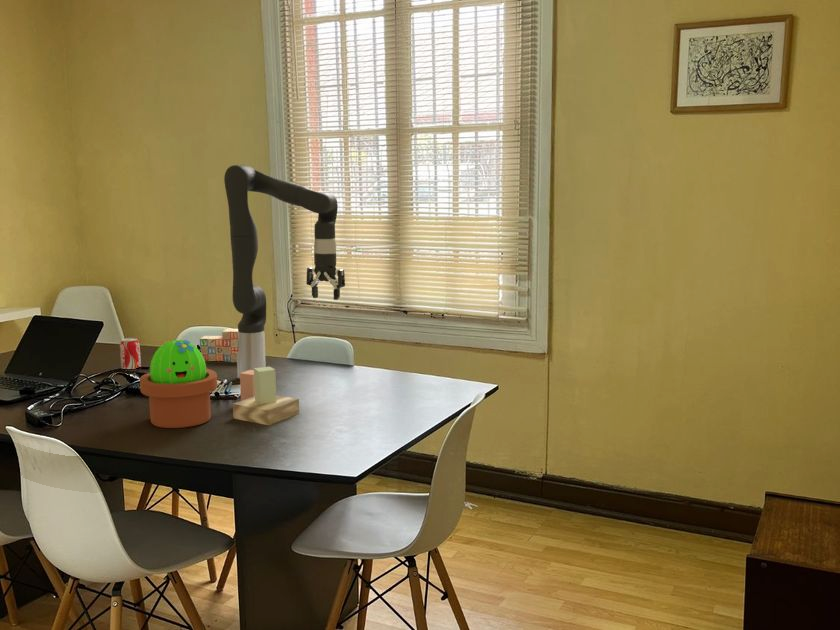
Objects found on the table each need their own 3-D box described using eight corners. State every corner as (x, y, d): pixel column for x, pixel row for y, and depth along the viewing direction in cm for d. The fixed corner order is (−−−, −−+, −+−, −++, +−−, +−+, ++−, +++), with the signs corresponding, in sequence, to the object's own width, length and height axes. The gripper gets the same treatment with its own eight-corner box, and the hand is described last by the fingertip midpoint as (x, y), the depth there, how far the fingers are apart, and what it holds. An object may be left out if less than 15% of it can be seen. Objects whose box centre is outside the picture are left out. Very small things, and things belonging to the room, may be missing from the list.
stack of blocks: (200, 361, 329) (198, 331, 326) (205, 358, 335) (204, 328, 333) (254, 362, 327) (252, 331, 325) (258, 359, 333) (257, 328, 331)
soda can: (137, 373, 310) (135, 341, 308) (118, 373, 311) (116, 341, 308) (143, 368, 317) (142, 337, 315) (125, 368, 317) (123, 337, 315)
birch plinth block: (233, 419, 253) (232, 403, 252) (264, 408, 265) (263, 393, 264) (269, 426, 246) (268, 410, 246) (299, 414, 258) (298, 399, 257)
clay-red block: (241, 403, 269) (239, 373, 268) (251, 399, 274) (249, 369, 272) (253, 405, 267) (252, 374, 265) (263, 401, 271) (262, 371, 270)
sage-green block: (255, 400, 256) (253, 368, 254) (270, 398, 258) (269, 366, 257) (260, 404, 252) (259, 371, 250) (276, 402, 254) (275, 369, 252)
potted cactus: (140, 414, 258) (135, 334, 253) (213, 406, 266) (209, 329, 261) (145, 435, 238) (139, 348, 233) (224, 426, 246) (220, 342, 241)
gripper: (301, 251, 287) (302, 298, 290) (336, 253, 280) (337, 301, 283) (313, 249, 293) (314, 295, 296) (348, 251, 287) (349, 298, 290)
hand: (325, 298), depth 290 cm, fingers open, 8 cm apart
